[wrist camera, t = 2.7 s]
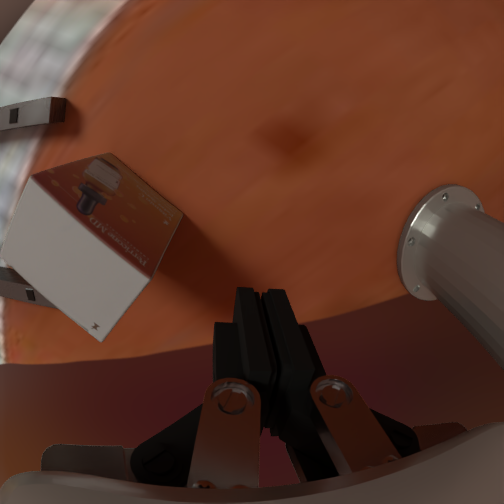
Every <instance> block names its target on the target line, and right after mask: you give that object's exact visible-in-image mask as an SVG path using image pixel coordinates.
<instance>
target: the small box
mask: <svg viewBox="0 0 504 504" xmlns="http://www.w3.org/2000/svg"><path fill="white" fill-rule="evenodd" d="M182 217H183V213H182V212H181V211H179V210H178V209H177V208H176V207H174V206H173V205H172V204H170V203H169V202H168V201H166V200H165V199H164V198H163V197H162V196H160V195H159V194H158V193H157V192H156V191H154V190H153V189H152V188H151V187H150V186H148V185H147V184H146V183H145V182H144V181H143V180H142V179H140V178H139V177H138V176H137V175H136V174H135V173H133V172H132V171H131V170H130V169H129V168H128V167H126V166H125V165H124V164H123V163H122V162H121V161H119V160H118V159H117V158H116V157H115V156H114V155H112V154H111V153H104V154H100V155H96V156H92V157H89V158H85V159H81V160H77V161H74V162H70V163H67V164H64V165H61V166H57V167H54V168H51V169H48V170H45V171H42V172H39V173H36V174H33V175H31V176H30V178H29V180H28V182H27V184H26V186H25V189H24V191H23V193H22V195H21V198H20V200H19V202H18V205H17V207H16V210H15V212H14V215H13V217H12V220H11V223H10V225H9V228H8V231H7V234H6V237H5V240H4V243H3V246H2V249H1V252H0V257H1V258H2V259H3V260H4V261H5V262H6V263H7V264H8V265H9V266H11V267H12V268H13V269H14V270H15V271H16V272H18V273H19V274H20V275H21V276H22V277H23V278H24V279H25V280H26V281H27V282H28V283H29V284H30V285H32V286H33V287H34V288H35V289H36V290H37V291H38V292H39V293H41V294H42V295H43V296H44V297H45V298H46V299H48V300H49V301H50V302H51V303H52V304H54V305H55V306H56V307H57V308H58V309H60V310H61V311H62V312H63V313H65V314H66V315H67V316H68V317H69V318H71V319H72V320H73V321H75V322H76V323H77V324H78V325H80V326H81V327H82V328H84V329H85V330H86V331H87V332H88V333H89V334H91V335H92V336H93V337H95V338H96V339H97V340H98V341H100V342H103V341H104V340H105V338H106V337H107V336H108V334H109V333H110V332H111V330H112V329H113V328H114V326H115V325H116V324H117V322H118V321H119V320H120V318H121V317H122V316H123V315H124V313H125V312H126V311H127V310H128V308H129V307H130V306H131V304H132V303H133V302H134V301H135V299H136V298H137V297H138V296H139V294H140V293H141V292H142V291H143V290H144V288H145V287H146V286H147V285H148V283H149V282H150V281H151V280H152V278H153V276H154V274H155V272H156V270H157V268H158V266H159V264H160V262H161V259H162V257H163V255H164V253H165V251H166V249H167V247H168V245H169V243H170V241H171V239H172V237H173V235H174V233H175V231H176V229H177V227H178V225H179V223H180V221H181V219H182Z"/></svg>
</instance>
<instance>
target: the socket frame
mask: <svg viewBox="0 0 504 504" xmlns="http://www.w3.org/2000/svg"><path fill="white" fill-rule="evenodd" d="M65 107H66V98H59V97H47V98H41V99H36V100H31V101H26V102H21V103H17V104H12V105H8V106H4V107H0V131H4V130H9V129H15V128H21V127H28V126H34V125H42V124H50V123H60V122H64V118H65ZM0 296H3V297H7V298H11V299H15V300H19V301H24V302H28V303H33V304H37V305H42V306H47V307H52V308H57V307H56V306H55V305H54V304H52V303H51V302H50V301H49V300H48V299H46V298H45V297H44V296H43V295H42V294H41V293H39V292H38V291H37V290H36V289H35V288H34V287H33V286H32V285H30V284H29V283H28V282H27V281H26V280H25V279H24V278H23V277H22V276H21V275H20V274H19V273H18V272H16V271H15V270H14V269H10V268H5V267H0ZM57 309H58V308H57Z"/></svg>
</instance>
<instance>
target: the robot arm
mask: <svg viewBox="0 0 504 504" xmlns="http://www.w3.org/2000/svg"><path fill="white" fill-rule="evenodd" d="M397 268H398V274H399V277H400V280H401V282H402V284H403V285H404V287H405V288H406V289H407V290H408V291H409V292H410V293H411V294H412V295H413V296H415V297H416V298H418V299H422V300H425V301H432V300H436V299H438V300H439V301H440V302H441V303H442V304H443V305H444V306H445V307H446V308H447V309H448V310H449V311H450V312H451V313H452V314H453V315H454V316H455V317H456V318H457V319H458V320H459V321H460V322H461V323H462V324H463V325H464V326H465V327H466V328H467V329H468V331H469V332H470V333H471V334H472V335H473V336H474V337H475V338H476V339H477V340H478V341H479V342H480V344H481V345H482V346H483V347H484V348H485V349H486V350H487V352H488V353H489V354H490V355H491V356H492V357H493V358H494V360H495V361H496V362H497V363H498V364H499V366H500V367H501V368H502V369H503V370H504V223H503V222H501V221H499V220H497V219H495V218H493V217H491V216H489V215H487V214H485V213H484V209H483V206H482V203H481V202H480V200H479V198H478V197H477V196H476V195H475V194H474V193H473V192H472V191H471V190H469V189H467V188H466V187H463V186H460V185H456V184H448V185H443V186H440V187H438V188H436V189H434V190H432V191H431V192H430V193H429V194H427V195H426V196H425V197H424V198H423V199H422V200H421V201H420V202H419V203H418V204H417V205H416V207H415V208H414V210H413V211H412V213H411V214H410V216H409V218H408V220H407V222H406V224H405V226H404V228H403V231H402V234H401V237H400V240H399V246H398V251H397ZM263 427H265V428H270V433H271V436H279V439H280V440H282V441H284V442H285V443H286V445H285V446H286V450H287V453H288V455H289V457H290V460H291V462H292V464H293V467H294V469H295V471H296V474H297V476H298V478H299V481H300V483H298V484H291V485H283V486H272V487H262V488H258V482H259V450H260V436H261V433H262V430H263ZM0 504H504V422H496V423H489V424H484V425H482V426H478V427H475V428H473V429H471V430H468V431H467V429H466V428H465V427H464V426H463V425H462V424H460V423H458V422H449V423H441V424H432V425H423V426H422V425H421V426H414V427H413V428H412V429H411V428H410V427H408V426H406V425H404V424H402V423H400V422H397V421H395V420H393V419H391V418H389V417H387V416H385V415H383V414H380V413H378V412H376V411H374V410H372V409H370V408H369V407H368V406H367V405H366V403H365V402H364V400H363V399H362V397H361V396H360V394H359V393H358V391H357V390H356V388H355V387H354V386H353V385H352V383H351V382H349V381H348V380H346V379H344V378H342V377H339V376H334V375H326V373H325V370H324V368H323V366H322V363H321V361H320V359H319V356H318V353H317V351H316V349H315V346H314V344H313V341H312V339H311V337H310V334H309V332H308V329H307V327H306V326H305V325H298V323H297V320H296V318H295V315H294V313H293V310H292V308H291V305H290V303H289V300H288V297H287V295H286V292H285V290H283V289H268V291H267V293H265V292H263V293H262V296H261V299H260V295H259V292H254V289H253V288H246V287H237V291H236V299H235V307H234V315H233V323H223V322H215V324H214V336H213V383H212V384H211V385H210V386H209V387H208V388H207V390H206V393H205V396H204V401H203V403H202V404H201V405H200V406H198V407H197V408H195V409H194V410H192V411H191V412H189V413H188V414H187V415H185V416H184V417H182V418H181V419H179V420H178V421H176V422H175V423H173V424H172V425H170V426H169V427H167V428H165V429H164V430H162V431H161V432H159V433H158V434H156V435H155V436H153V437H151V438H150V439H148V440H147V441H145V442H143V443H142V444H140V445H139V446H138V447H137V448H123V447H122V446H87V445H67V444H55V445H52V446H50V447H48V448H47V449H46V450H45V451H44V453H43V455H42V459H41V471H31V472H26V473H20V474H17V475H14V476H12V477H11V478H9V479H8V480H7V481H6V482H5V483H4V484H3V486H2V487H1V489H0Z"/></svg>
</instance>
